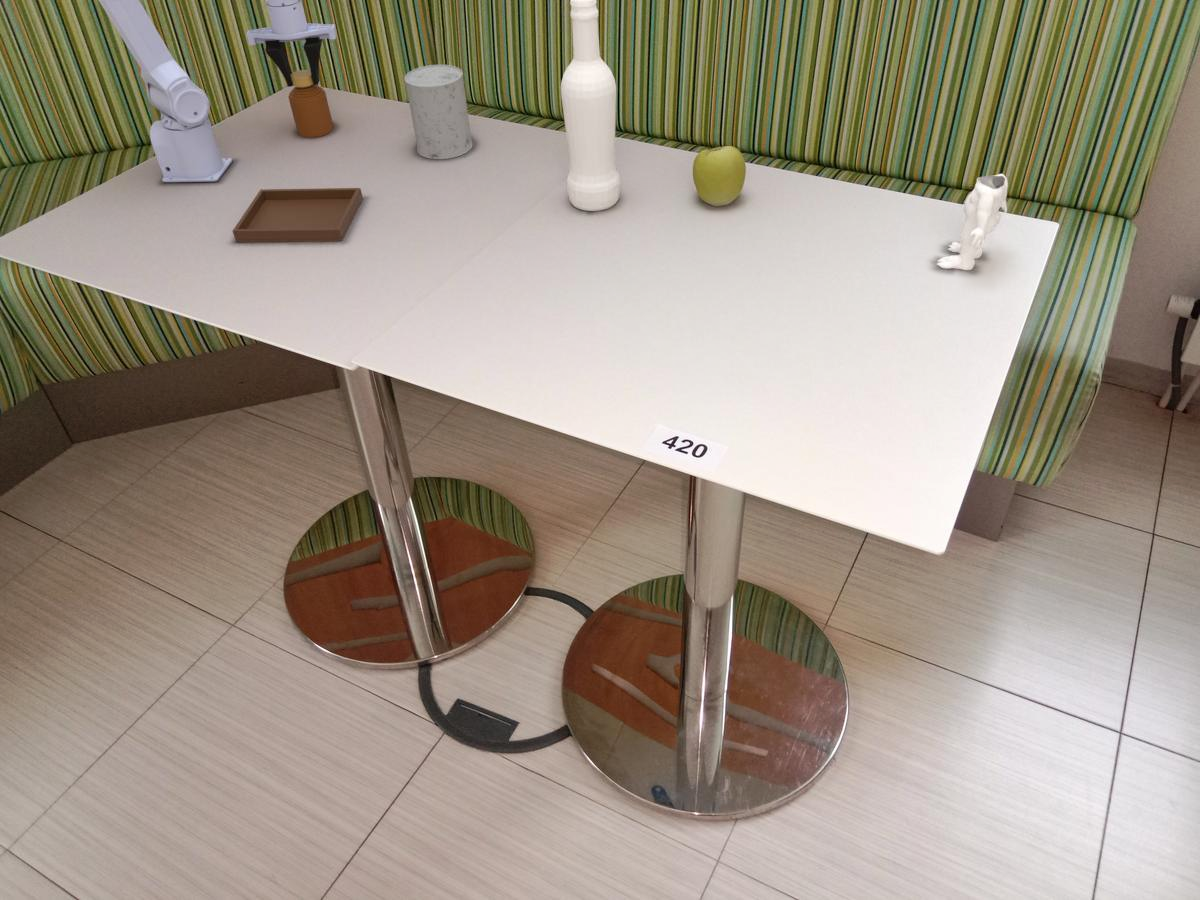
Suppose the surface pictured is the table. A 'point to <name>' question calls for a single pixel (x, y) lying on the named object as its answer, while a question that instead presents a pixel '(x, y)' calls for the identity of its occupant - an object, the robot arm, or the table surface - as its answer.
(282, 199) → the tray
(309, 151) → the table surface
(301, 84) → the cap
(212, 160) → the robot arm
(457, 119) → the gray speckled cylinder
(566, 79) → the bottle
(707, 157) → the apple
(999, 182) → the toy creature
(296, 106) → the amber bottle
